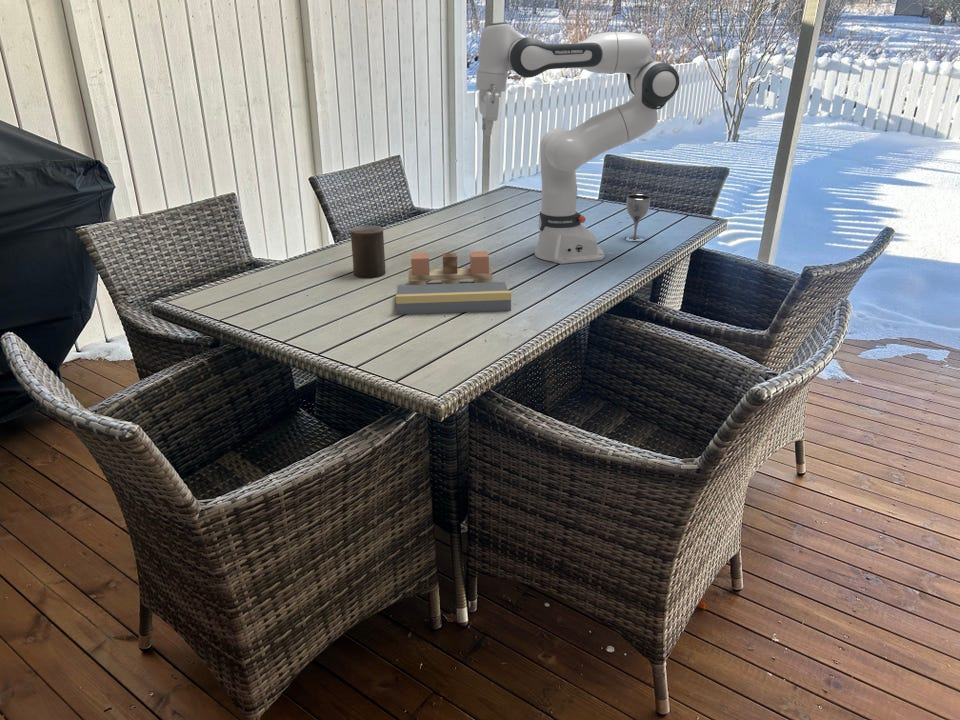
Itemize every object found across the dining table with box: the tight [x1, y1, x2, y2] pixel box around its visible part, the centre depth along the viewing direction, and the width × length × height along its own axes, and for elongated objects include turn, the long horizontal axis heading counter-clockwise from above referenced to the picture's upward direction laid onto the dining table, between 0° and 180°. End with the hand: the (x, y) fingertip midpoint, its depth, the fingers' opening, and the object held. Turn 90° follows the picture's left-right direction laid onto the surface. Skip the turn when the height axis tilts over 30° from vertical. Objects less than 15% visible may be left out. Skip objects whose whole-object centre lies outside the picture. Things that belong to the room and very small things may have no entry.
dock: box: [395, 281, 512, 315], centre depth 183 cm, size 30×14×5 cm, turn 95°
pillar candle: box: [350, 225, 386, 279], centre depth 203 cm, size 10×10×15 cm
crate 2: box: [469, 250, 490, 274], centre depth 194 cm, size 5×5×5 cm
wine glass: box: [626, 193, 652, 240], centre depth 235 cm, size 8×8×15 cm
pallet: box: [407, 252, 493, 285], centre depth 195 cm, size 24×6×9 cm, turn 95°
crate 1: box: [410, 252, 430, 276], centre depth 193 cm, size 5×5×5 cm
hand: (486, 133), depth 203 cm, fingers open, 8 cm apart
